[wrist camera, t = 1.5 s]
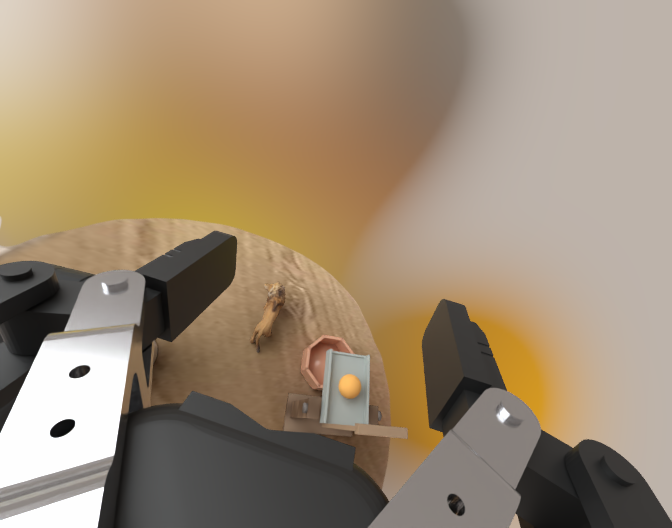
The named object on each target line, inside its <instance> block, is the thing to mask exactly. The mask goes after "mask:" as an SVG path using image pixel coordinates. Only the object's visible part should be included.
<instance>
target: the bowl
mask: <svg viewBox="0 0 672 528" xmlns="http://www.w3.org/2000/svg"><path fill="white" fill-rule="evenodd" d="M329 349H333V350H332V351H338V352H344V353H350V354H354V353H353V351H352V350H351V349H350V347H349V346H348V345H347V343H346V342H345V341H344V339H343V338H339V337H334V336H328V335H322V336H321V337H320V338H319V339H318V340H316V341H315V342H314V343H313V344H311V345H310V346H309V347H307V348H306V349H305V350H303V357H302V361H301V371H300V372H301V373H302V375H303V376H304V378H305V380H306V381H307V382H308V384H309V385H310V386H311V387H312V389H315V390H322V391H323V381H324V371H325V360H326V351H328V350H329Z"/></svg>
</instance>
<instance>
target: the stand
mask: <svg viewBox="0 0 672 528" xmlns="http://www.w3.org/2000/svg"><path fill="white" fill-rule="evenodd" d="M321 402H322V397H317V396H309V395H301V394H292V393H288V399H287V406H286V413H285V419H284V426H283V431H291V432H305V433H315V434H327V435H339V436H350V437H352V431H349V430H341V429H334V428H326V427H322V423H320V412H321ZM380 420H381V412H380V411H378V406H371V405H369V423H368V424H370V425H378V421H380Z"/></svg>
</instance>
